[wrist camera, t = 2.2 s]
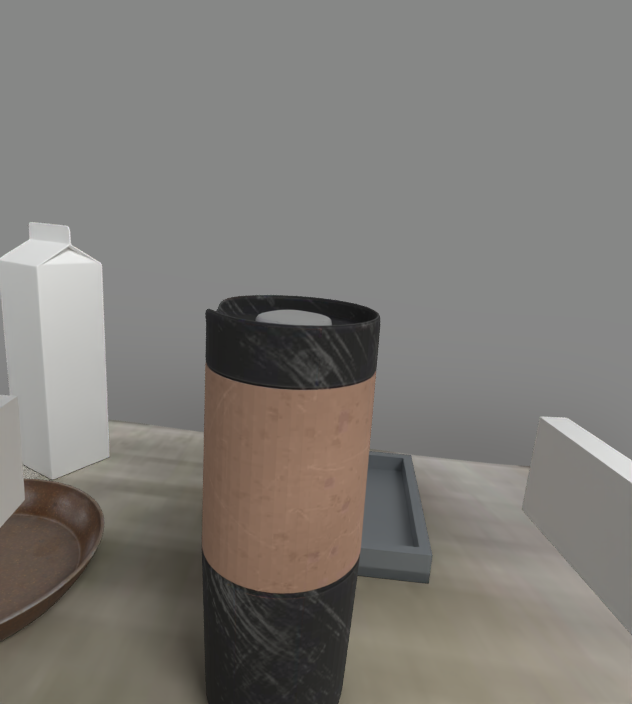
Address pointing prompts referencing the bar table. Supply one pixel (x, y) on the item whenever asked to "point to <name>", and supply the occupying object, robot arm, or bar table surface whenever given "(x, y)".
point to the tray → (393, 522)
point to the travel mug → (284, 493)
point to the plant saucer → (44, 550)
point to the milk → (56, 350)
